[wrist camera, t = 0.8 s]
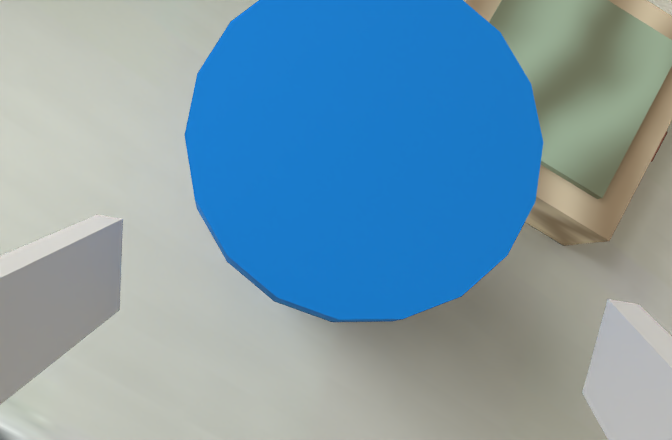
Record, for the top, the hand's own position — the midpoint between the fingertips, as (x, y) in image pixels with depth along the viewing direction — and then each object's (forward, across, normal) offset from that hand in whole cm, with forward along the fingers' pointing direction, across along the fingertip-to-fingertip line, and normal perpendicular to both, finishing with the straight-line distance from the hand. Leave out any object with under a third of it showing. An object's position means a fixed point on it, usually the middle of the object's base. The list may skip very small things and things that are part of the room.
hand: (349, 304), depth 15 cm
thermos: (+25, -4, -5) cm, 26 cm away
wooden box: (+32, +10, +6) cm, 33 cm away
